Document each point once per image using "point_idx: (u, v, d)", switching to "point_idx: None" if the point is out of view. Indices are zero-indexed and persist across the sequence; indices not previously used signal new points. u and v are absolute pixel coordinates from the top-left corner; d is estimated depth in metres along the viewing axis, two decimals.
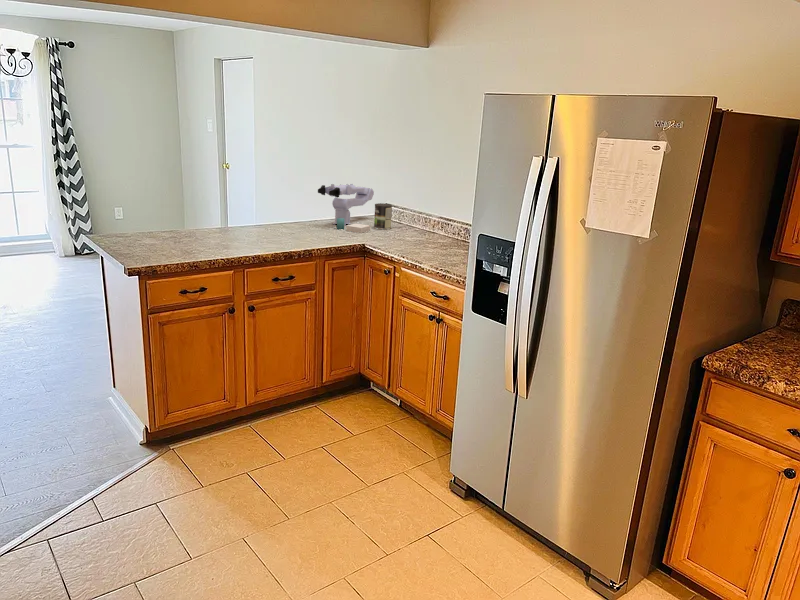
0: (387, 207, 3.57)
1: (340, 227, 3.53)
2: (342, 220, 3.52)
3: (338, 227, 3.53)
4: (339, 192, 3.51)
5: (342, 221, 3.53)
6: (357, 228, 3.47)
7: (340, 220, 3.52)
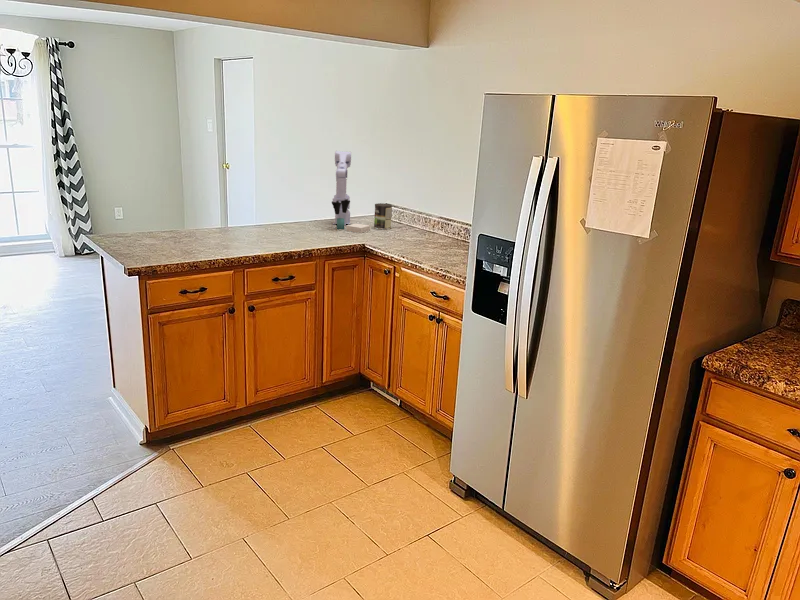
0: (387, 207, 3.57)
1: (340, 227, 3.53)
2: (342, 220, 3.52)
3: (338, 227, 3.53)
4: None
5: (342, 221, 3.53)
6: (357, 228, 3.47)
7: (340, 220, 3.52)
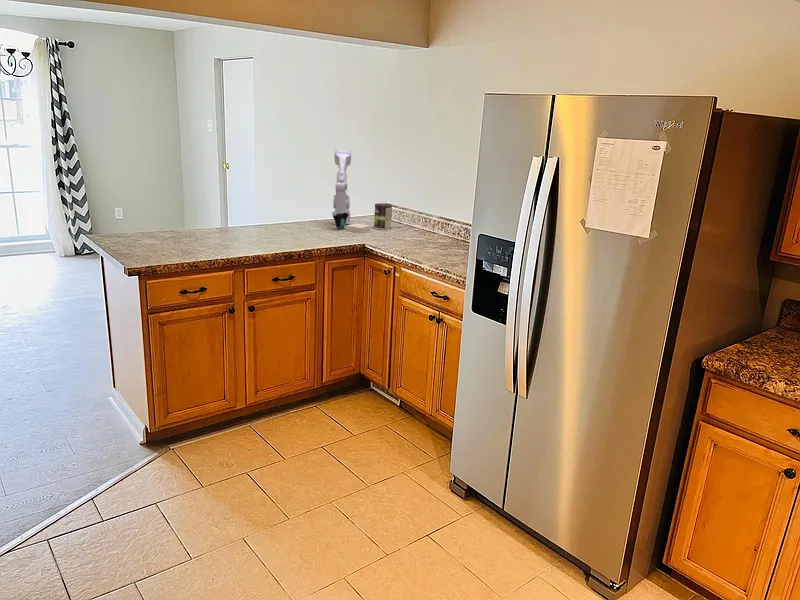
0: (387, 207, 3.57)
1: (340, 227, 3.53)
2: (342, 220, 3.52)
3: (338, 227, 3.53)
4: None
5: (342, 221, 3.53)
6: (357, 228, 3.47)
7: None
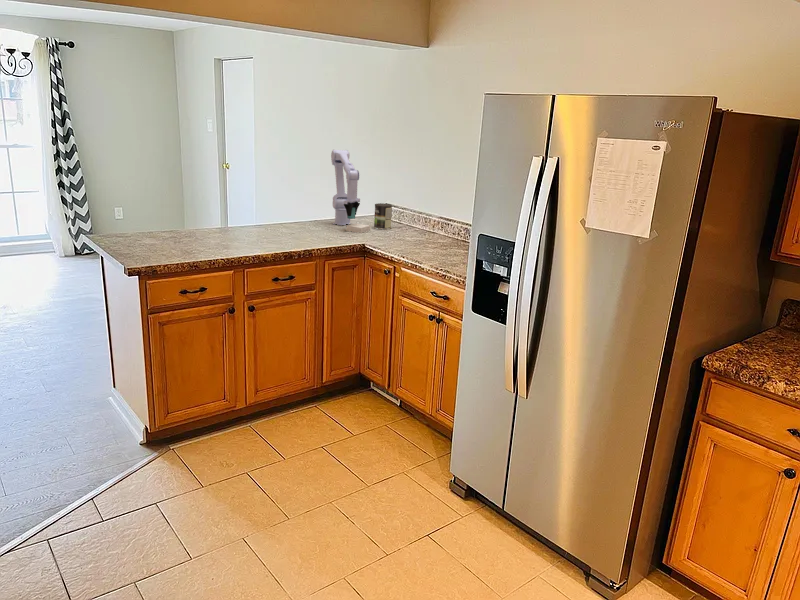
0: (387, 207, 3.57)
1: (351, 216, 3.49)
2: (353, 209, 3.49)
3: (349, 216, 3.49)
4: None
5: (353, 210, 3.49)
6: (357, 228, 3.47)
7: None
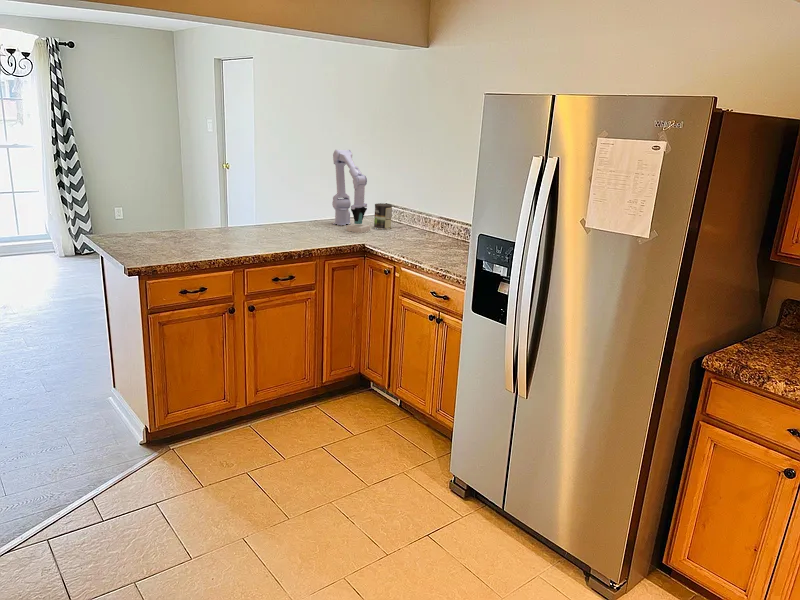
0: (387, 207, 3.57)
1: (358, 221, 3.49)
2: (360, 214, 3.48)
3: (356, 221, 3.49)
4: None
5: (360, 215, 3.48)
6: (357, 228, 3.47)
7: None
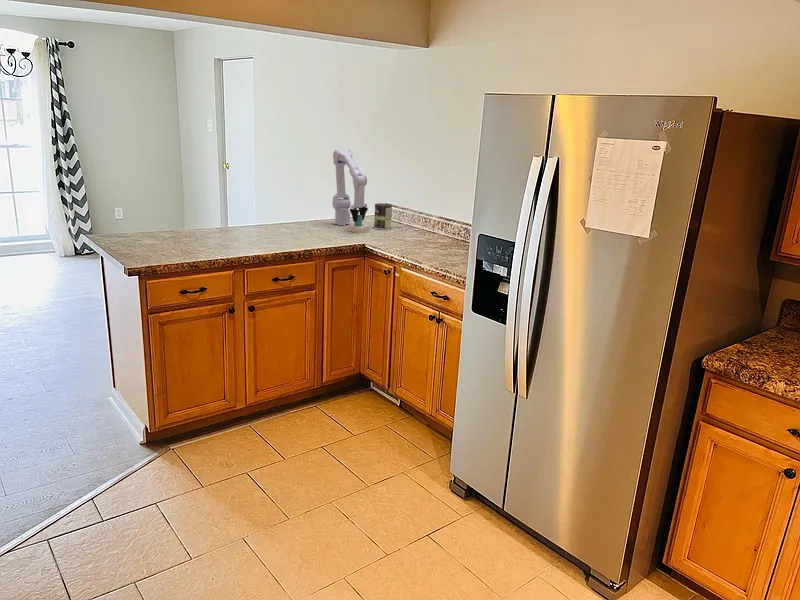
0: (387, 207, 3.57)
1: (358, 224, 3.49)
2: (360, 217, 3.49)
3: (356, 224, 3.49)
4: None
5: (360, 218, 3.49)
6: (357, 228, 3.47)
7: (358, 217, 3.48)
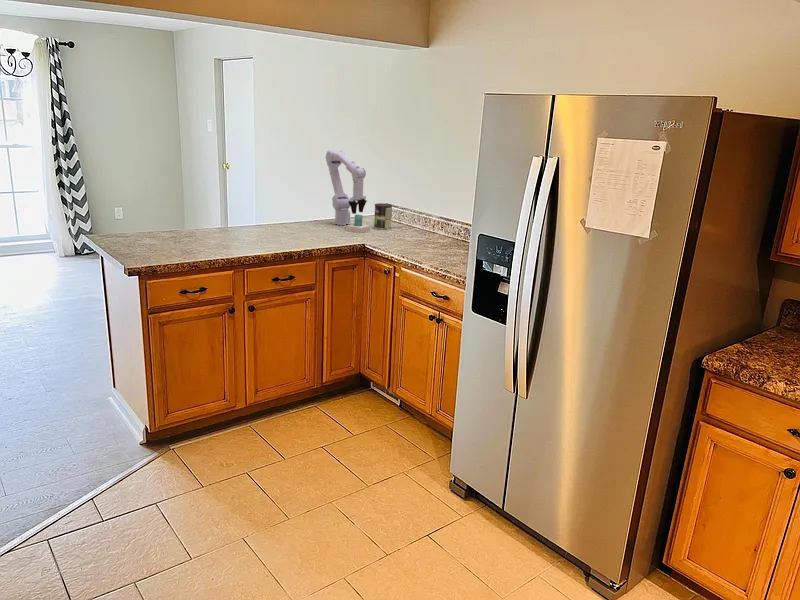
0: (387, 207, 3.57)
1: (358, 224, 3.49)
2: (360, 217, 3.49)
3: (356, 224, 3.49)
4: None
5: (360, 218, 3.49)
6: (357, 228, 3.47)
7: (358, 217, 3.48)
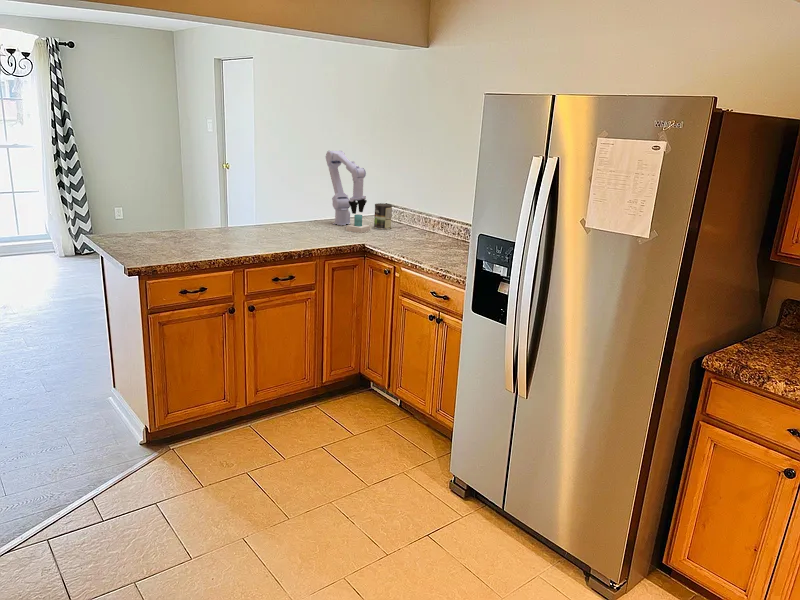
0: (387, 207, 3.57)
1: (358, 224, 3.49)
2: (360, 217, 3.48)
3: (356, 224, 3.50)
4: None
5: (360, 218, 3.49)
6: (357, 228, 3.47)
7: (358, 217, 3.48)
